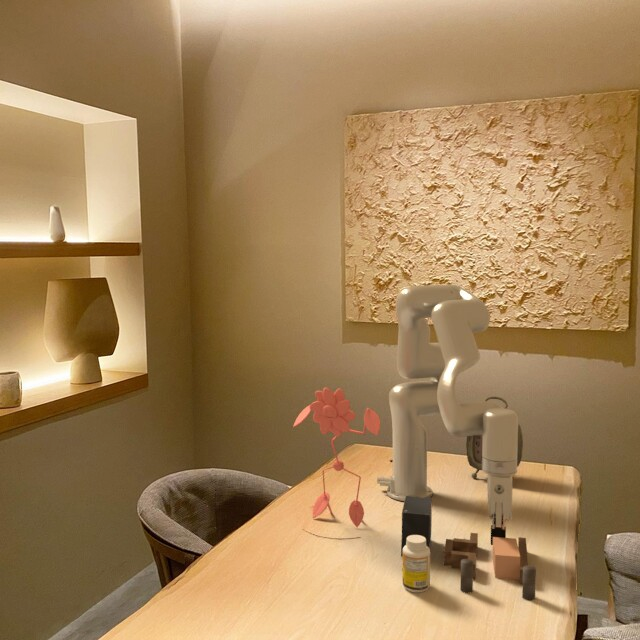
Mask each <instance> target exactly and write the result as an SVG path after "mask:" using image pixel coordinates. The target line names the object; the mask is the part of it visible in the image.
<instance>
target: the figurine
mask: <svg viewBox="0 0 640 640" xmlns="http://www.w3.org/2000/svg"><path fill="white" fill-rule="evenodd" d="M314 396H315V399H316V401H313V402H311V404H310V405H307V406H306V407H305V408H303V410H302V411H301V412H300V413H299V414H298V416H297V417H296V419H295V421H294V423H293V427H292V428H295V427H297V426H299V425H300V424H301V423H303V422H304V421H305V420H306V419H307V418H308V416H309V415H310V413H311V412H313V415H312V421H313V422H314V423H316V424H319V429H320V432H321V434H322V435H327V434H329V432H331V433H332V434H333V435H334V437H333V438H331V442H330V444H331V446H332V451H333V454H334V456H335V459H336V460H335V461H334V462H333V464H332V466H329V467H326V468H323V469H322V484H323V485H322V486H323V493H322V494H321V495H320V496H319V497H318V498H317V499H316V500H315V502H314V504H313V505H312V506H309V508H312V509H313V510H312V518H313V519H314V518H317V517H318V516H320V515H321V514H323V513H324V512H325V511H326V509H327V508H328V511H329V514H333V511H332V508H331V506H330V499H331V498H330V494H329V493H328V492H326V487H325V485H326V484H325V471H328V470H329V469H332V468H333V470H335V471H337V472H340V471H343V470H344V471H345V472H348V473H349V474H352V475H354V476H356V477H358V485H357V491H356V492H357V493H356V499H354V500H352V501H351V502H350V505H349V508H348V515H349V518H350V520H351V522H352V523H353V525H354V526H355V527H356V528H358V527H360V525H361V523H362V521H363V519H364V517H365V515H364V514H365V510H364V507H363V504H362V503H361V501H359V492H360V488H361V486H360V485H361V478H362V477H361V476H360V475H358V474H356V473H355V472H352V471H350V470H348V469H346V468H344V467H345V464H344V462H343V461H342V460H341V459H338V455H337V450H336V447H335V443H334V441H336V440H337V438H340V437H341V436H342V434H343V433H348V432H351V433H355V434H358V435H365V434H366V431H367V430H368V431H369V432H370V433H371V434H372V435H375V436H376V437H378V436H379V433H380V429H381V427H382V425H381V419H380V417H379V414H377V412H376V411H375V410H373V409H371V408H370V407H367V408H366V410H365V412H364V413H363V423H364V425H363V430H362V431H359V430H354V429H351V427H350V424H349V423H350V422H353V421H354V420H355V419H356V417H357V415H356V413H355V412H354V411H353V410H350V407H351V402H350V401H351V400H349V399H346V398H345V397H346V395H345V393H344V391H343V389H342V388H337V389H336V391H334V392H333V391H332V390H331V389H329V388H328V387H324V388H323V390H316V391H315V392H314ZM366 429H367V430H366ZM302 530H304V531H305V532H306V533H309V534H310V535H313V536H315V537H318V538H323V539H324V538H325V539H328V537H326V536H322V535H321V536H320V535H317V534H314V533H311V532H309V531H307V530H305V528H303V529H302ZM359 538H361V536H358V537H356V539H359ZM330 539H331V540H332V539H333V540H338V541H345V540H352V539H355V537H349V538H336V537H334V538H332V537H329V540H330Z"/></svg>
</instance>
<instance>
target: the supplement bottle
mask: <svg viewBox="0 0 640 640" xmlns="http://www.w3.org/2000/svg"><path fill="white" fill-rule="evenodd" d="M402 586H403V587H404V589H405V590H406V591H409V592H412V593H423V592H425V591H427V590H429V589H430V586H431V549H429V548H428V547H427V546H426V538H425V537H423V536H420V535H411V536H408V537H407V540H406V545H405V546H404V547H403V556H402Z"/></svg>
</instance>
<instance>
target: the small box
mask: <svg viewBox="0 0 640 640" xmlns="http://www.w3.org/2000/svg"><path fill="white" fill-rule="evenodd" d="M403 502H404V503H403V507H402V511H401V544H400V545H401V548H400V549H401V552H400V556H401V557H403V547H404V546H405V545H406V540H407V537H408V536H411V535H420V536H423V537H425V538H426V546H427V547H428V548H429V549H430V548H431V541H432V516H433V514H432V512H433V511H432V507H433V506H432V497H430V498H421V497H411V496H406V497H405V501H403ZM430 550H431V549H430Z"/></svg>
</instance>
